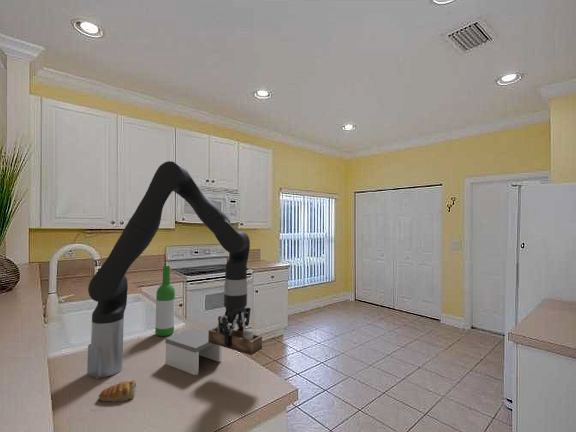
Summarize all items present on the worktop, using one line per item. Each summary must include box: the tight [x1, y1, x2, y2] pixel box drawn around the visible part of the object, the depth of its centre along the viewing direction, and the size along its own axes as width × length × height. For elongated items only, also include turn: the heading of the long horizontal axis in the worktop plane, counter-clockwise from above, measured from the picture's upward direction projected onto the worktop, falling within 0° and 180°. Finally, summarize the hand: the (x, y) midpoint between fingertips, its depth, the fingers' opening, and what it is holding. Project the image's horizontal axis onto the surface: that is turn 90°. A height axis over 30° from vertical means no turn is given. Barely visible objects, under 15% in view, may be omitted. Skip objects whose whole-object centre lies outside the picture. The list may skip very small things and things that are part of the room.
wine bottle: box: [154, 265, 176, 337], centre depth 135 cm, size 8×8×30 cm
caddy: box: [208, 323, 263, 356], centre depth 99 cm, size 18×6×6 cm, turn 60°
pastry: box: [98, 379, 138, 403], centre depth 87 cm, size 9×7×4 cm
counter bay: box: [164, 327, 223, 376], centre depth 108 cm, size 13×15×9 cm
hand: (234, 343), depth 99 cm, fingers closed on caddy, 5 cm apart
